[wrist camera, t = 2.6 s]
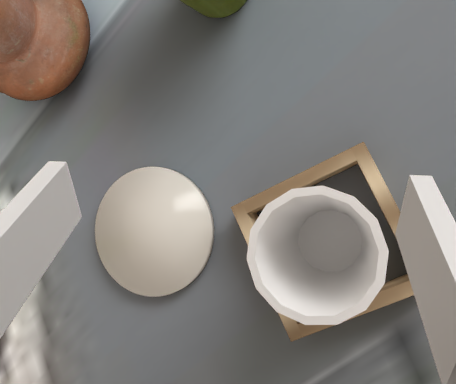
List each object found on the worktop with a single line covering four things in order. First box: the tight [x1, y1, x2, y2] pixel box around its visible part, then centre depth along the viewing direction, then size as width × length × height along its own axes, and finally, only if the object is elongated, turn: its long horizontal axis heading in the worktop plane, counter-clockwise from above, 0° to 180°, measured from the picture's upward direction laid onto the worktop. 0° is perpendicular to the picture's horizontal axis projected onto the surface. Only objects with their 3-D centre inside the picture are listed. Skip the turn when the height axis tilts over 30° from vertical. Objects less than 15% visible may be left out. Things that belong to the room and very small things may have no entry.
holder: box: [231, 142, 414, 342], centre depth 39 cm, size 13×13×4 cm
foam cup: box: [247, 186, 389, 325], centre depth 35 cm, size 10×9×13 cm
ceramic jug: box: [0, 0, 90, 101], centre depth 45 cm, size 18×14×14 cm
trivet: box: [95, 167, 214, 297], centre depth 47 cm, size 14×14×1 cm
